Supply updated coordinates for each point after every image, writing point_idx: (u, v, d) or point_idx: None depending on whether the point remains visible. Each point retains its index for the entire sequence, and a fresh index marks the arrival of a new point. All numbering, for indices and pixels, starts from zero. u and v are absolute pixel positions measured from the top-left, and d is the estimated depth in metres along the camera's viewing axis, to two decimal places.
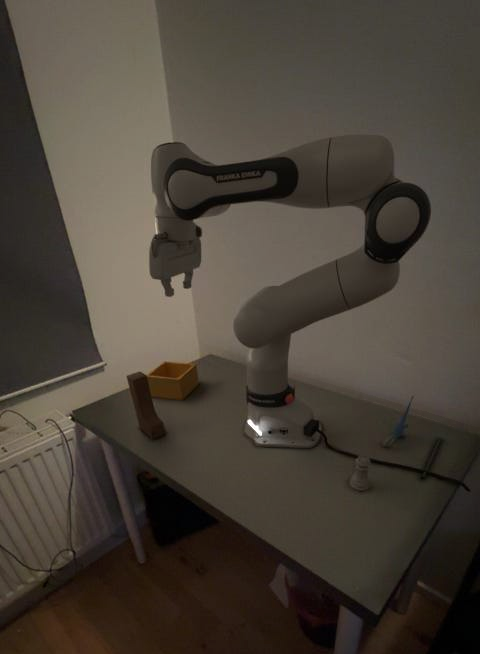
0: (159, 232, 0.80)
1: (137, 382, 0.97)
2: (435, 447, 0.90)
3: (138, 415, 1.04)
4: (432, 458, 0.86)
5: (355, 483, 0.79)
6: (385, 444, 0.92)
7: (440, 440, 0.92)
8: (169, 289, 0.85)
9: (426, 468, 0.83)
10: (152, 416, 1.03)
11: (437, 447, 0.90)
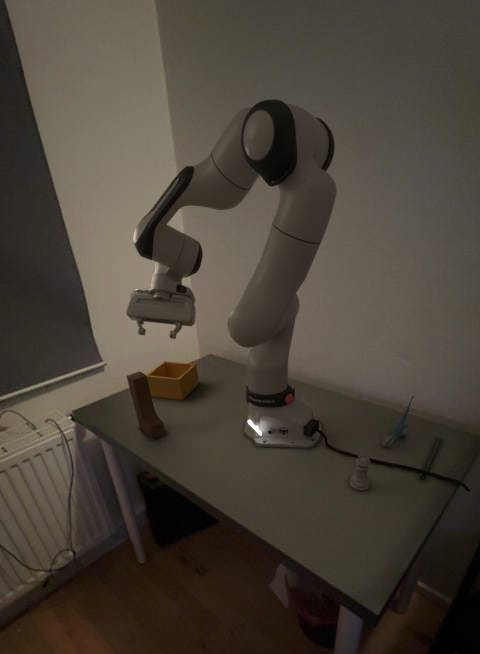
0: None
1: (137, 382, 0.97)
2: (434, 449, 0.90)
3: (138, 415, 1.04)
4: (431, 460, 0.87)
5: (355, 483, 0.79)
6: (385, 444, 0.92)
7: (439, 442, 0.93)
8: None
9: (425, 470, 0.84)
10: (152, 416, 1.03)
11: (436, 449, 0.90)
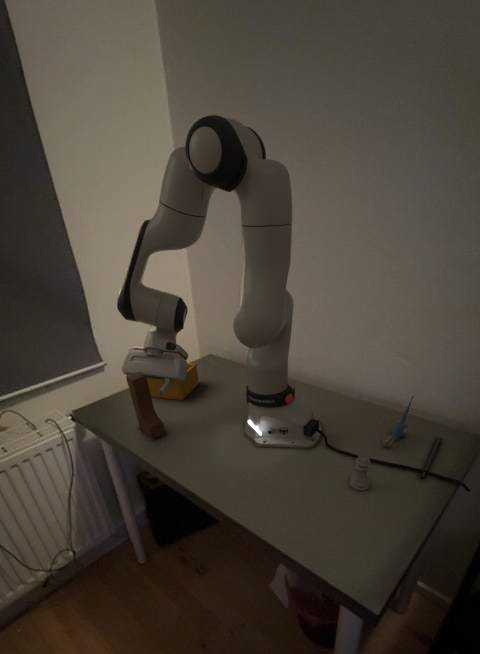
0: None
1: (136, 382, 0.97)
2: (435, 447, 0.90)
3: (138, 415, 1.04)
4: (431, 458, 0.86)
5: (355, 483, 0.79)
6: (385, 444, 0.92)
7: (440, 440, 0.92)
8: None
9: (425, 468, 0.83)
10: (152, 416, 1.03)
11: (437, 447, 0.90)
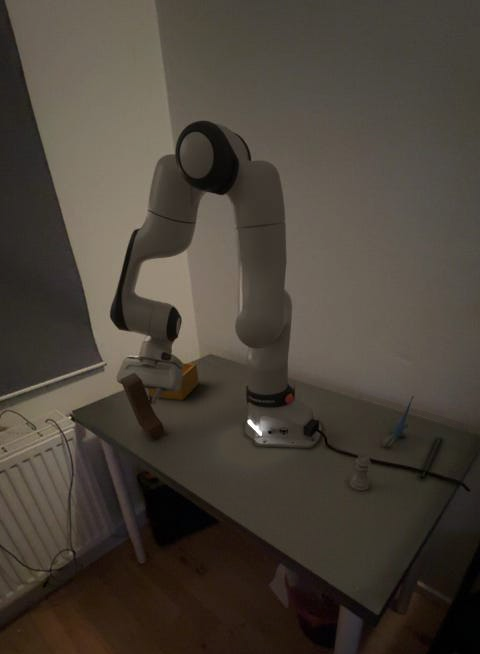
0: None
1: (132, 387, 0.93)
2: (435, 447, 0.90)
3: (136, 415, 1.02)
4: (431, 458, 0.86)
5: (355, 483, 0.79)
6: (385, 444, 0.92)
7: (440, 440, 0.92)
8: None
9: (425, 468, 0.83)
10: (151, 416, 1.01)
11: (436, 447, 0.90)
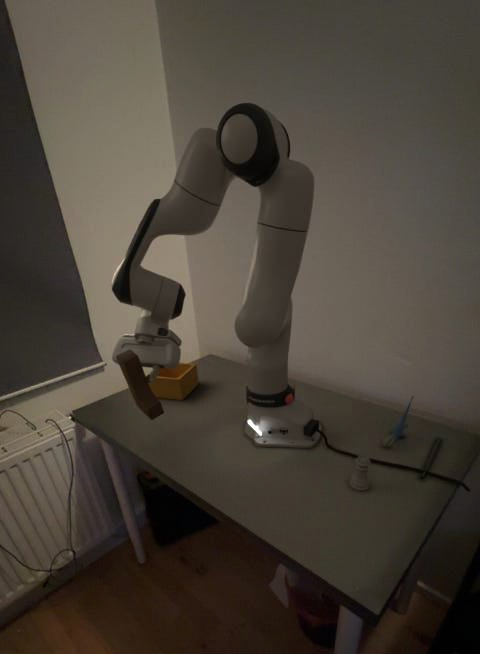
0: None
1: (128, 364, 0.89)
2: (435, 447, 0.90)
3: (133, 395, 0.98)
4: (431, 458, 0.86)
5: (355, 483, 0.79)
6: (385, 444, 0.92)
7: (440, 440, 0.92)
8: None
9: (425, 468, 0.83)
10: (149, 395, 0.97)
11: (436, 447, 0.90)
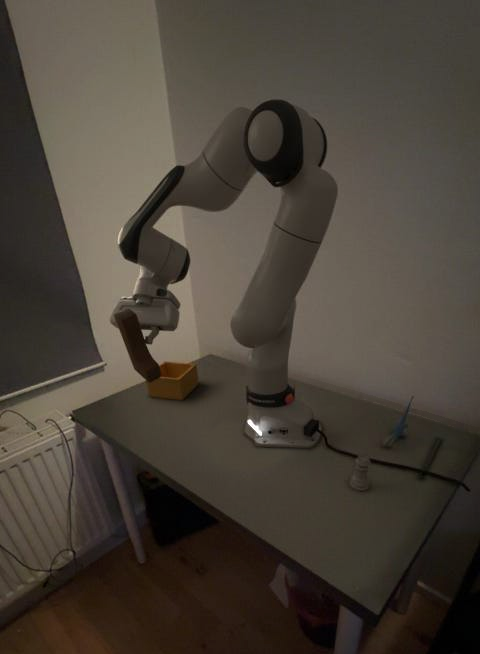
0: None
1: (126, 322, 0.88)
2: (434, 448, 0.90)
3: (131, 357, 0.97)
4: (431, 459, 0.87)
5: (355, 483, 0.79)
6: (385, 444, 0.92)
7: (439, 442, 0.93)
8: None
9: (424, 469, 0.84)
10: (147, 357, 0.96)
11: (436, 448, 0.90)
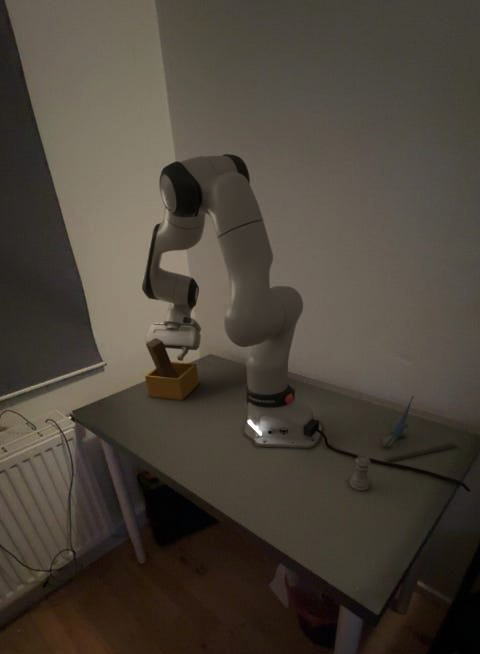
0: None
1: (156, 348, 1.16)
2: (436, 449, 0.90)
3: (161, 374, 1.25)
4: (419, 454, 0.89)
5: (355, 483, 0.79)
6: (385, 444, 0.92)
7: (450, 447, 0.91)
8: None
9: (402, 457, 0.88)
10: (173, 373, 1.24)
11: (438, 450, 0.90)
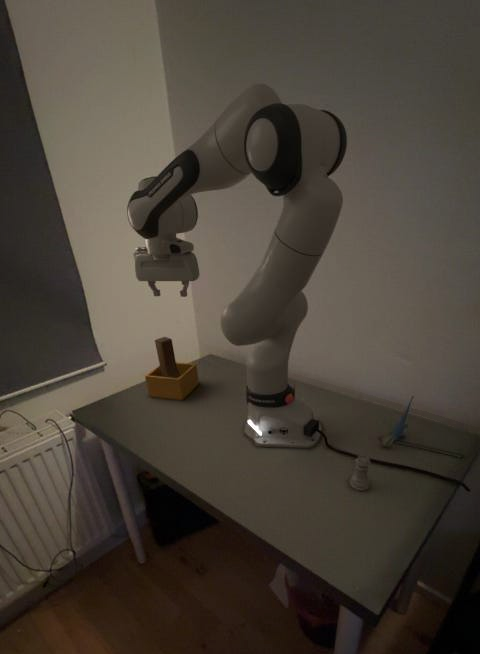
0: None
1: (164, 344, 1.19)
2: (436, 450, 0.90)
3: (163, 374, 1.26)
4: (415, 446, 0.92)
5: (355, 483, 0.79)
6: (385, 444, 0.92)
7: (454, 455, 0.88)
8: None
9: (396, 441, 0.94)
10: (176, 373, 1.26)
11: (438, 451, 0.89)
